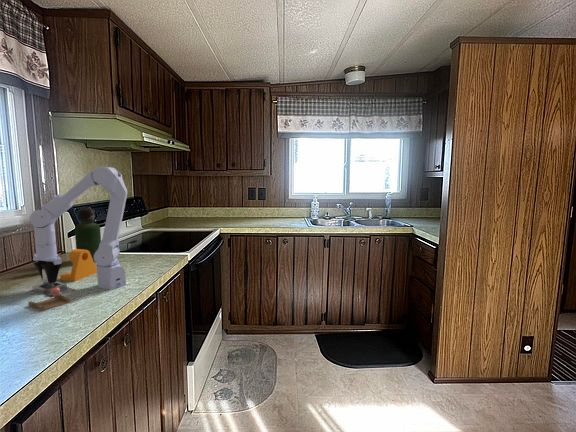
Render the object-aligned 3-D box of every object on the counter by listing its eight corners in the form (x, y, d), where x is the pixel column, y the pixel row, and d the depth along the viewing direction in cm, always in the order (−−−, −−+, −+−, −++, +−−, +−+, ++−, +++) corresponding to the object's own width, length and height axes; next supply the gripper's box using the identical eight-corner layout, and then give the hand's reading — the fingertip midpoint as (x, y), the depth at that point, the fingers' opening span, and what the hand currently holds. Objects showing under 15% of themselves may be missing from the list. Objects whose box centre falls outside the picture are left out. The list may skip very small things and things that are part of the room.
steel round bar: (58, 286, 116) (56, 267, 115) (46, 289, 113) (45, 270, 112) (53, 285, 117) (51, 266, 116) (41, 288, 114) (39, 268, 113)
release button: (61, 295, 111) (61, 288, 111) (53, 297, 109) (53, 290, 109) (57, 293, 112) (57, 287, 112) (50, 296, 110) (49, 289, 110)
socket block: (77, 292, 114) (76, 286, 114) (51, 300, 107) (51, 293, 107) (56, 286, 121) (56, 280, 120) (31, 292, 114) (30, 286, 113)
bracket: (82, 274, 135) (79, 245, 134) (97, 275, 134) (95, 246, 132) (59, 282, 125) (56, 252, 123) (75, 283, 123) (73, 253, 122)
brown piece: (70, 305, 103) (70, 298, 103) (42, 314, 96) (41, 307, 96) (57, 300, 107) (56, 293, 107) (28, 308, 100) (28, 302, 100)
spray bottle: (74, 263, 150) (70, 210, 147) (80, 258, 160) (76, 207, 156) (99, 262, 153) (96, 209, 150) (104, 256, 163) (101, 207, 160)
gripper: (22, 243, 113) (26, 281, 115) (43, 248, 106) (47, 288, 108) (45, 240, 119) (48, 275, 121) (66, 244, 112) (70, 282, 114)
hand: (49, 281), depth 115 cm, fingers closed on steel round bar, 4 cm apart
